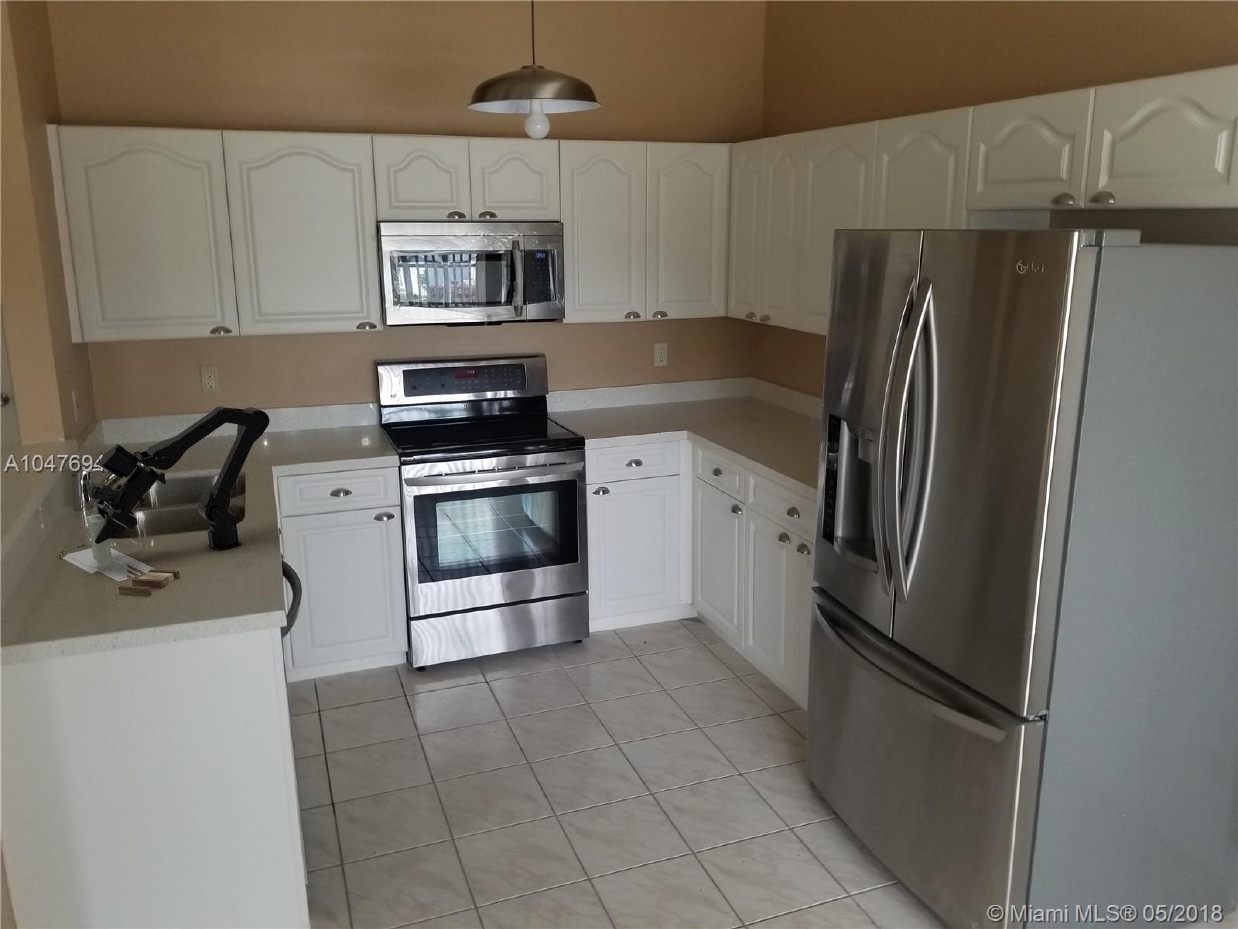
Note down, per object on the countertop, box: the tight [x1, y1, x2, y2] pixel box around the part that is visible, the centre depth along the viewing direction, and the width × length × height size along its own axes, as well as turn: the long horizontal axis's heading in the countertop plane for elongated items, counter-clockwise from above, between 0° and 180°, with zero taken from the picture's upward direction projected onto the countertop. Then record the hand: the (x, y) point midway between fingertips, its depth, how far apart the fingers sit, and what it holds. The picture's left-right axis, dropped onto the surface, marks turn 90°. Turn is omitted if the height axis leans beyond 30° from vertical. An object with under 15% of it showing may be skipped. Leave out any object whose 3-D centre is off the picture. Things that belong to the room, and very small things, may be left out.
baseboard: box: [58, 544, 155, 582], centre depth 235 cm, size 31×3×12 cm
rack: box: [117, 568, 181, 597], centre depth 220 cm, size 12×8×3 cm, turn 170°
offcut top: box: [137, 572, 174, 582], centre depth 222 cm, size 4×6×1 cm, turn 80°
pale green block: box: [86, 513, 113, 565], centre depth 229 cm, size 3×6×11 cm, turn 39°
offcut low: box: [164, 577, 174, 585], centre depth 222 cm, size 4×6×1 cm, turn 80°
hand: (93, 539), depth 228 cm, fingers closed on pale green block, 6 cm apart
